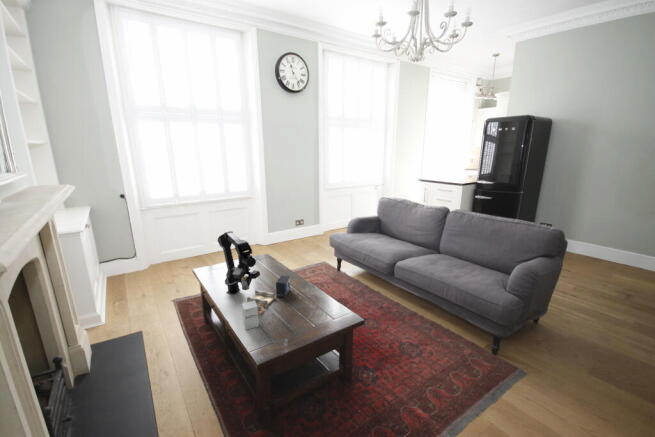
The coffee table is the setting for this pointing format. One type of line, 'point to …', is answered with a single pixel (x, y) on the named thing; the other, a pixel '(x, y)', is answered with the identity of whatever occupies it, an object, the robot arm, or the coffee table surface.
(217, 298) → the coffee table surface
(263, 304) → the cradle
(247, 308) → the supplement box
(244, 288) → the cell
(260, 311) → the dish
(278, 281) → the small box
